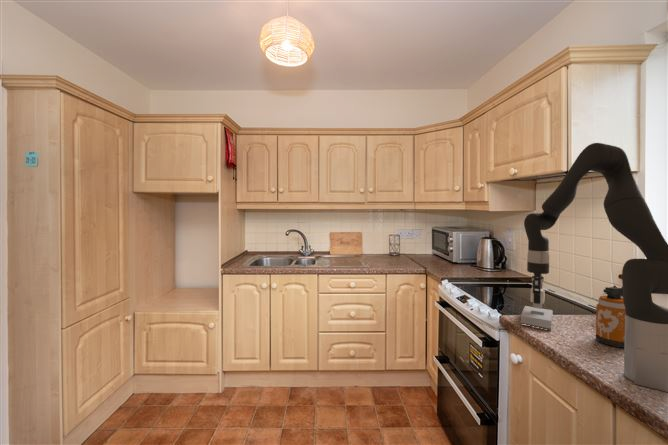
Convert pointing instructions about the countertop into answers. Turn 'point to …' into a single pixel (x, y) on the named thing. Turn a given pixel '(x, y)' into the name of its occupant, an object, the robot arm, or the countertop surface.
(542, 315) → the grey rectangular block
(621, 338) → the canister
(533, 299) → the cream rectangular block
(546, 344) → the countertop surface
